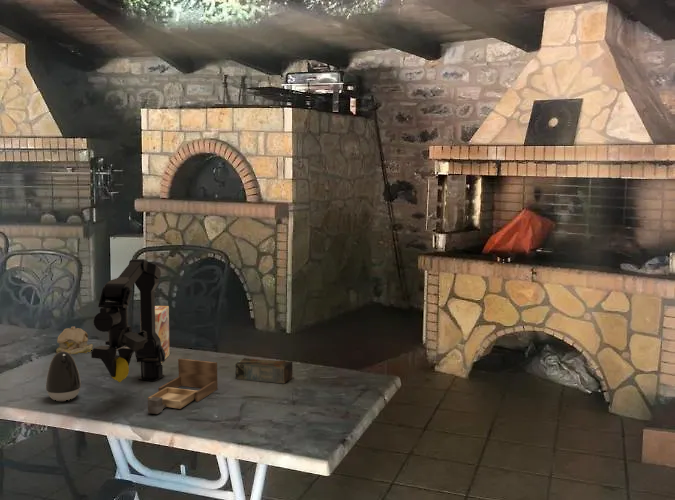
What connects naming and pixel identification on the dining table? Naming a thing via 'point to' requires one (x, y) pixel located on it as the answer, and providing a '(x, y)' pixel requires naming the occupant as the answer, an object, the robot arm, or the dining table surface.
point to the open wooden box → (195, 377)
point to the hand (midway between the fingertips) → (119, 374)
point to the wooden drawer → (170, 399)
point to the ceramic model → (73, 341)
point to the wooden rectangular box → (263, 370)
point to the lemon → (121, 369)
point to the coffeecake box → (162, 327)
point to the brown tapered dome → (63, 377)
